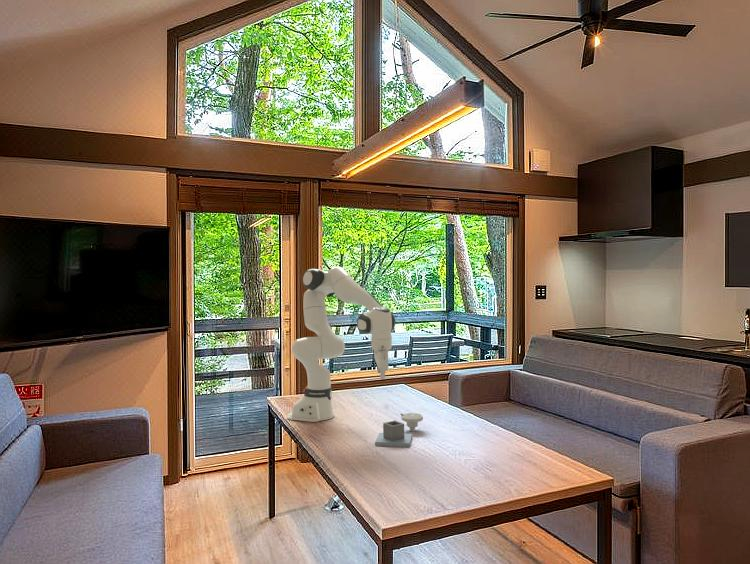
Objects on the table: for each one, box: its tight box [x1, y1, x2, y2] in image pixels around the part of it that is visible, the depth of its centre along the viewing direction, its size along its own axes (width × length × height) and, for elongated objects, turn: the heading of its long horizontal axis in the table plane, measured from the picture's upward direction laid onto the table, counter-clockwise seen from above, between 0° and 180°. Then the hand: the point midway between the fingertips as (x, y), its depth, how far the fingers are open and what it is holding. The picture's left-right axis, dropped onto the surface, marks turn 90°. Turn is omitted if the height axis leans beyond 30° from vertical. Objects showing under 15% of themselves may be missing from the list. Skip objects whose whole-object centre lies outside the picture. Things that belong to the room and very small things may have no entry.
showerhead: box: [399, 412, 424, 432], centre depth 231 cm, size 9×7×10 cm
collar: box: [382, 420, 405, 441], centre depth 216 cm, size 6×6×6 cm
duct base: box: [374, 432, 413, 448], centre depth 216 cm, size 14×12×6 cm
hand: (381, 375), depth 228 cm, fingers open, 8 cm apart
